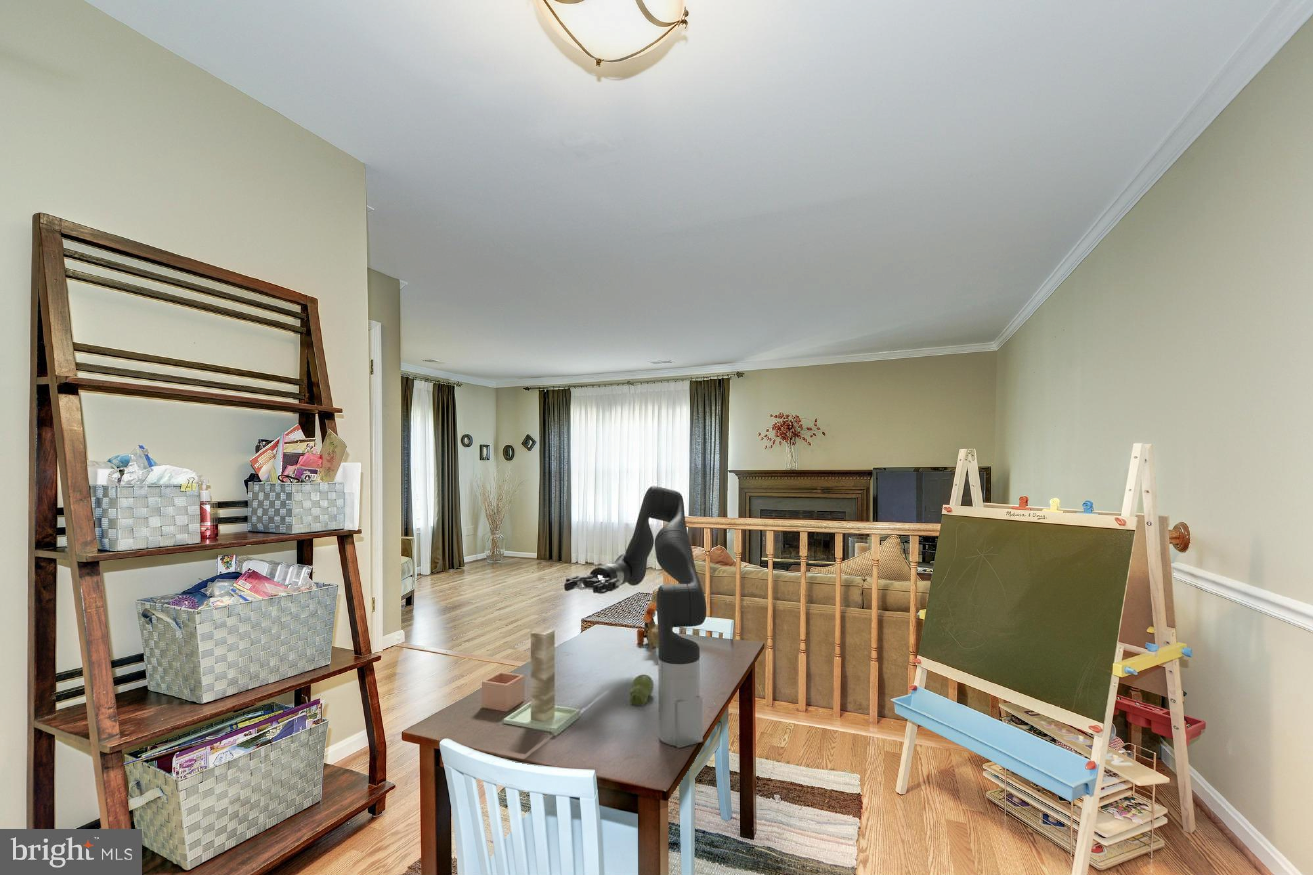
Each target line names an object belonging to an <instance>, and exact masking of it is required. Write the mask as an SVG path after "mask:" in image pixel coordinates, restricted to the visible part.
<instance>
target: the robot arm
mask: <svg viewBox="0 0 1313 875" xmlns="http://www.w3.org/2000/svg"><path fill="white" fill-rule="evenodd" d="M683 497H684V496H682V494H681V492H679V491H678V490H674V489H670V488H666V487H662V486H658V485H652V486H649V487H648V489H647V490H646V492H645V494H644V497H643V500H642V502H641V506H640V509H639V513H638V516H637V520H636V522H635V528H634V532H633V535H632V537H631V539H630V540H629V543H628V546H627V548H626V550H625V553H622V554H620V555H619V556H618V557H617V558H616V559H615V561H614V562H612V563H608V564H607V563H606V564H604V565H601V566H598V567H595V568H593V569H592V570H591V571H590V572H589V574H588V575H585V576H580V575H575V576H571V577H568V578H566V579H565V582H564V585H563V586H564V591H565V592H569V591H572V590H576V589H578V590H579V591H582V590H583V591H585V590H590V591H591V590H592V593H593V594H599V595H603V594H607V593H609V592H613V591H615V590H617V589H619V587H621V586H623V585H625V584H626V583H627V584H628V585H630V586H634V587H635V586H638V585H640V583H642V582H643V581H644V579H645V576H646V573H647V568H648V558H649V557H650V554H651V552H652V550H653V547H654V550H655V558H656V562H657V563H658V565H659V566H660V568H661V569H662V570H663V571H664V572H665V573H666V574H668V575H669V576H670V577H671V578H673V580H675V581H677V583H673V584H672V583H671V584H661V585H659V587H657V588H658V589H657V592H656V597H655V598H656V601H655V602H656V606H657V607H656V617H657V618H656V620H657V628H658V646H657V647H658V648H657V650H658V651H657V653H658V654H657V656H658V658H657V659H658V660H657V664H658V666H657V668H658V673H657V674H658V676H657V677H658V680H657V683H658V738H659V740H660V741H661V742H662V743H664V744H666V745H670V746H674V747H676V748H677V749H680V748H684V747H688V746H691V745H695V744H699V743H703V737H704V736H703V698H702V697H701V658H700V657H701V654H700V653H701V652H700V646H699V644H698V643H697V642H696V641H693V640H691V639H689V638H686V637H683V636H681V635H679V634H677V633H676V632H674V631H673V628H687V627H689V628H690V627H698V626H701V625H702V624H704V622H705V620H706V618H707V610H708V609H707V603H706V602H707V601H706V597H705V593H704V589H703V587H702V584H701V581H700V578H699V575H698V572H697V568H696V564H695V559H694V554H693V548H692V544H691V539H690V535H689V532H688V528H687V527H688V526H687V522H686V515H685V514H686V513H685V503H684V498H683ZM650 519H653V520H659V521H661V522H662V521H663V522H667V523H666V524H665V525H664V526H663V527H662V528H660V529H659V531H658V532H657V533H656V536H655V538H654V534H653V531H652V528H651V525H650V521H649V520H650Z"/></svg>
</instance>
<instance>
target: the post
mask: <svg viewBox="0 0 1313 875" xmlns="http://www.w3.org/2000/svg"><path fill="white" fill-rule="evenodd" d="M555 635H556V634H555V629H548V628H547V629H546V628H538V629H536V630H534V631H532V632H530V702H531V720H535V721H541V722H547V721H548V720H549V719H551V718H552V717H553V716H555V706H556V705H555V704H556V698H555V697H556V696H555V693H556V692H555V691H556V690H555V687H556V686H555V684H556V682H555V676H556V674H555V673H556V672H555V671H556V670H555V668H556V664H555V663H556V662H555V654H556V653H555V646H556V645H555V641H556V640H555V639H556V638H555Z"/></svg>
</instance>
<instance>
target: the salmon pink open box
mask: <svg viewBox="0 0 1313 875" xmlns="http://www.w3.org/2000/svg"><path fill="white" fill-rule="evenodd" d="M525 680H526V678H525V674H520V673H519V674H518V673H517V674H516V673H511V672H504V671H503V672H502V671H499V672H497V673H496V674H493V675H492V676H489V677H488V678H486V679H484V680H482V681H481V708H483V709H488V710H495V711H502V712H509V711H510V710H512V709H513V708H515V707H517V706H518V705H520V704H522V703H523V702H525V700H526V698H525V697H526V696H525V689H526V688H525V686H526V685H525V683H526V682H525Z"/></svg>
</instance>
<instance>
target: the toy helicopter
mask: <svg viewBox="0 0 1313 875" xmlns="http://www.w3.org/2000/svg"><path fill="white" fill-rule="evenodd" d="M656 610H657V606H656V601H651V602H649V604H648V606H647V609H646V610H645V611H644V616H643V618H642V622H643V623H644V628H637V629H636V640H637V644H638V645H643V644H644V643H645V639H646V641H647V643H648V646H649V648H650V649H653V648H654V649H655V648H657V647H658V627H656V621H655V619H654V618H655V616H657V611H656Z"/></svg>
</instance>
